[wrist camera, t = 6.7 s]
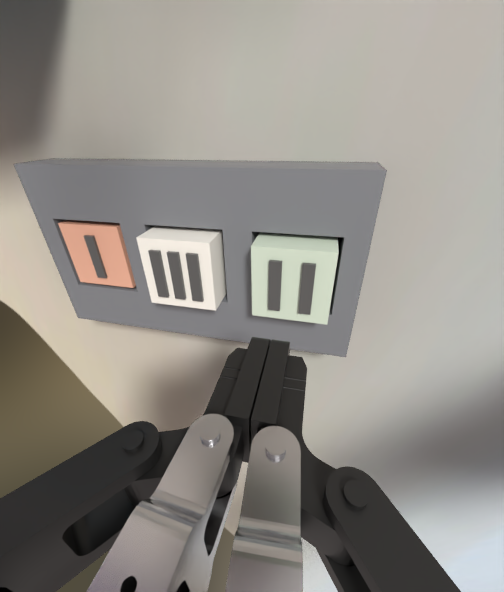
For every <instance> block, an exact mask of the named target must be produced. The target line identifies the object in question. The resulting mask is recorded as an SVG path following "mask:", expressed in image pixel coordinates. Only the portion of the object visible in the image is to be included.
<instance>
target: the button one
mask: <svg viewBox="0 0 504 592" xmlns="http://www.w3.org/2000/svg"><path fill="white" fill-rule="evenodd" d="M58 224H59V227H60V230H61V232H62V235H63V237H64V240H65V243H66V245H67V248H68V251H69V253H70V256H71V258H72V261H73V264H74V266H75V269H76V272H77V274H78V277H79V279H80V282H86V283H94V284H103V285H111V286H120V287H129V288H134V287H135V286H136V283H135V280H134V276H133V272H132V268H131V265H130V261H129V257H128V253H127V250H126V246H125V242H124V238H123V235H122V231H121V227H120V223H112V222H96V221H81V220H65V221H63V222H60V223H58Z"/></svg>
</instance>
